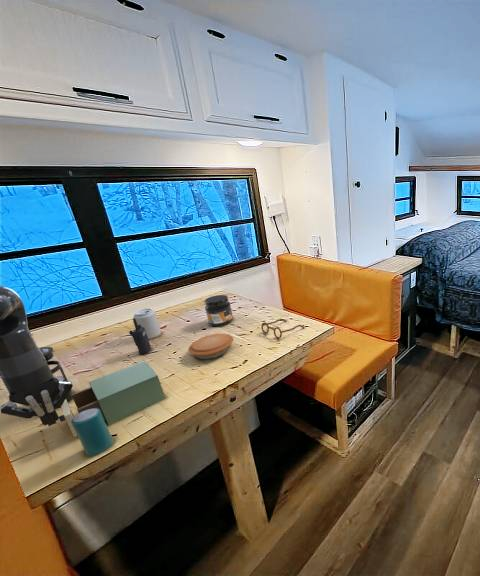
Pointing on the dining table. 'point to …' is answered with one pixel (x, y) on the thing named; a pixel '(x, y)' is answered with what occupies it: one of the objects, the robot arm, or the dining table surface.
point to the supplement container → (218, 310)
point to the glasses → (277, 328)
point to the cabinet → (127, 391)
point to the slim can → (92, 431)
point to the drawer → (80, 406)
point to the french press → (49, 355)
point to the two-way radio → (140, 338)
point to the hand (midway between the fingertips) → (52, 423)
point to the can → (148, 322)
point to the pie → (211, 346)
